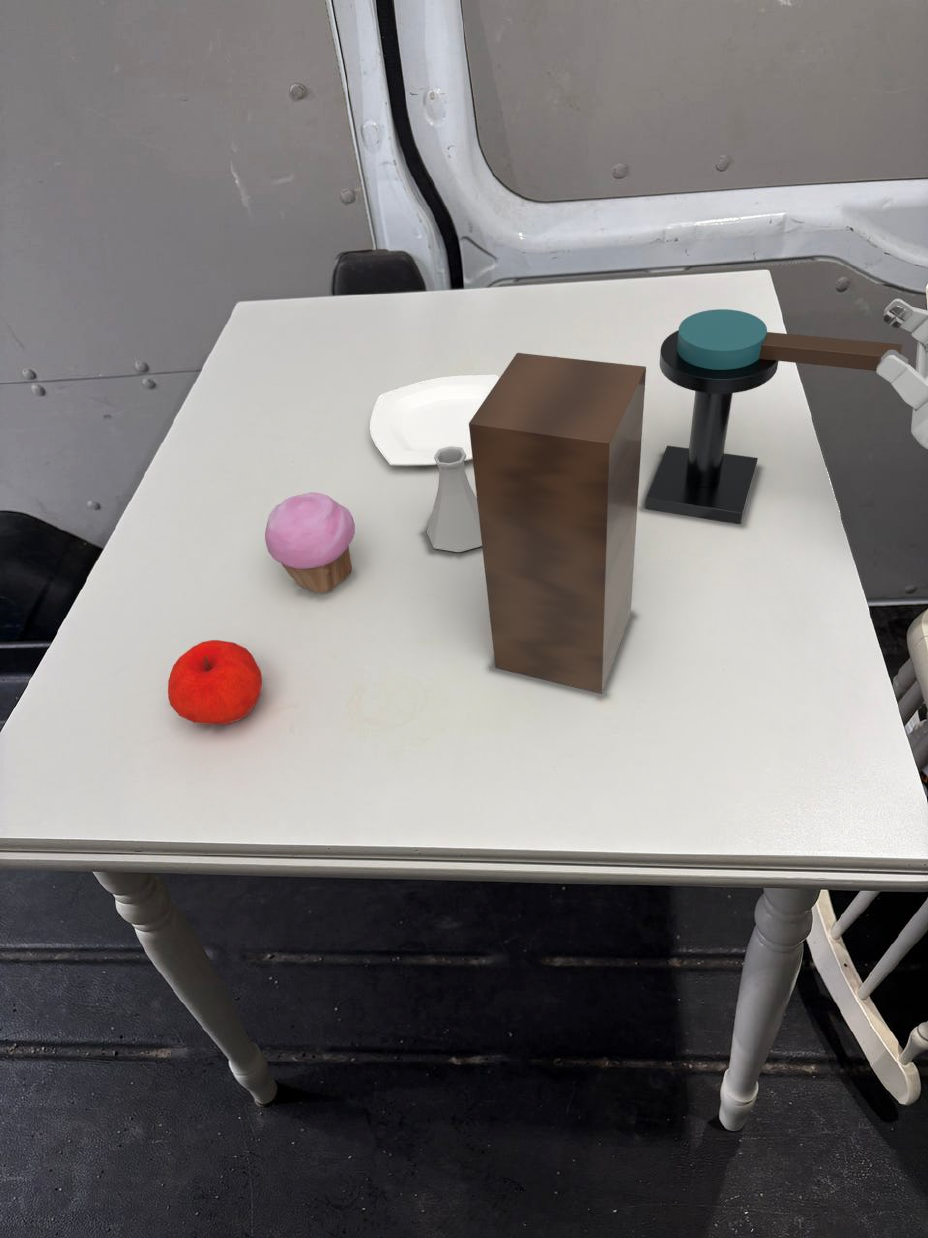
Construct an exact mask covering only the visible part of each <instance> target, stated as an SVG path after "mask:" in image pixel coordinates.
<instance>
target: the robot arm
mask: <svg viewBox="0 0 928 1238" xmlns="http://www.w3.org/2000/svg"><path fill="white" fill-rule="evenodd" d="M883 321H884V323H886V324H888V325H889V326H890V327H892V328H893V329H894V330H896V331H897V330H898V329H899V328H900V329H902V330H905V331H907V332H909V333H911V334H910V336H911V337H912V338H913V339H915V340H917V344H916V354H915V355H916V357H915V368H914V367H913V366H911V365H910V364H909V358H908V357H906V356H904V355H903V354H902V353H901V354H899V353H898V352H897V351H896V350H888V351H887V352H886V353H885V354H884V355H883V356H882V357H881V358H880V359H879V360H878V363H877V371H875V372H876V374H877V375H878V376H880V377H881V378H883V379H884V380H885V381H887V382H889V384H890V385H891V386H892V388H893V389H894V390H895V391H896V392H897V394H898V395H899V396H900V397H901V399H902V400H903V402H904V403H906V404H907V405H909V406H910V407H912V412H911V413H912V414H911V424H910V425H911V426H910V433H911V434H912V436H913V438H914V439H915V440H916V441H917V443H918V444H919V445H920V446H922V447H923V448H924V449H926V450H928V310H927V309H923V308H919V307H915V306H912V305H910V304H909V303H907V302H906V301H904V300H902V299H901V298H895V299H893V300H892V301H891V302H890V303H889V304H888V305H887V306H886V307H885V308H884V311H883Z"/></svg>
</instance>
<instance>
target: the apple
mask: <svg viewBox="0 0 928 1238" xmlns="http://www.w3.org/2000/svg"><path fill="white" fill-rule="evenodd" d="M262 679H263V678H262V671H261V669H260V667H259V666H258V664H257V661H256V660H255V657H254V656H253V654H252V653H251V652H250V650H248V648H246V647H245V646H242V645H240V644H237V643H236V642H234V641H233V642H232V641H226V640H219V639H212V640H207V641H206V640H205V641H202V642H199V643H197V644H196V645H193V646H192V647H190V649H188V650H187V651H185V652H184V653H182V655H180V656H179V657H178V658H177V660H176V662H175V663H174V664H173V665H172V668H171V671H170V673H169V677H168V683H167V699H168V701H169V705H170V706H171V708H172V709H173V711H175V713H176V714H177V715H178V716H179V717H182V718H183V719H186V720H187V721H190V722H192V723H193V724H202V725H203V724H205V725H216V726H217V725H226V724H232V723H234V722H237V721H240V720H242V719H243V718H244V717H246V716H247V715H248V714H249V713H250V712H251V711H252V710H253V708H254V707H255V706H256V704H257V703H258V700H259V698H260V696H261V692H262V691H261V690H262V683H263V681H262Z"/></svg>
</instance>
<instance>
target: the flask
mask: <svg viewBox="0 0 928 1238" xmlns="http://www.w3.org/2000/svg"><path fill="white" fill-rule="evenodd" d="M434 459H435V461H436V463H437V468H438V486H437V491H436V494H435V499H434V504H433V508H432V512H431V515H430V518H429V521H428V525H427V529H426V534H427V536H428V539H429V541H430V544H431V545H432V547H433V549H435V550H441V551H449V552H454V553H462V552H465V551H469V550H473V549H476V548H479V547H482V540H481V531H480V522H479V513H478V504H477V495H475V492H474V490H473V488H472V486H471V484H470V481H469V479H468V476H467V472H466V467H465V459H466V454H465V452H464V450H463V448H461V447H453V446H449V447H446V448H442V449H438V451H437V453H436V454H435V456H434Z"/></svg>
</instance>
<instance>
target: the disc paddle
mask: <svg viewBox="0 0 928 1238" xmlns="http://www.w3.org/2000/svg"><path fill="white" fill-rule="evenodd" d="M902 349H903V344H902V343H893V342H892V343H891V342H880V341H872V340H871V341H869V340H860V339H859V340H858V339H849V338H848V339H847V338H836V337H827V336H826V337H825V336H814V335H804V334H794V333H784V332H783V333H782V332H772V331H771V332H770V331H768V328H767V324H765V322H764V320H762V319H761V318H760V317H758V316H755V315H754V314H751V313H749V312H745V311H742V310H737V309H727V308H726V309H725V308H722V309H721V308H720V309H719V308H718V309H717V308H716V309H708V310H702V311H699V312H696V313H694V314H691V315H689V316H687V317H685V318H684V319H683V320H682V321H681V322H680V324H679V326H678V341H677V352H678V354H679V356H680V357H681V358H682V359H683V360H685V361H686V362H688V363H690V364H692V365H694V366H697V367H701V368H705V369H712V370H730V369H737V368H742V367H745V366H748V365H750V364H752V363H754V362H756V361H757V360H758V359H764V360H774V361H779V362H783V363H794V364H804V365H813V366H814V365H815V366H824V367H834V368H841V369H842V368H844V369H853V370H863V371H873V372H876V371H877V363H878V360H879V359H880V358H881V357H882V356H883V355H884V354H885V353H886V352H887V351H888V350H896V351H897V352H898V353H899V354H901V355H902Z"/></svg>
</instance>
